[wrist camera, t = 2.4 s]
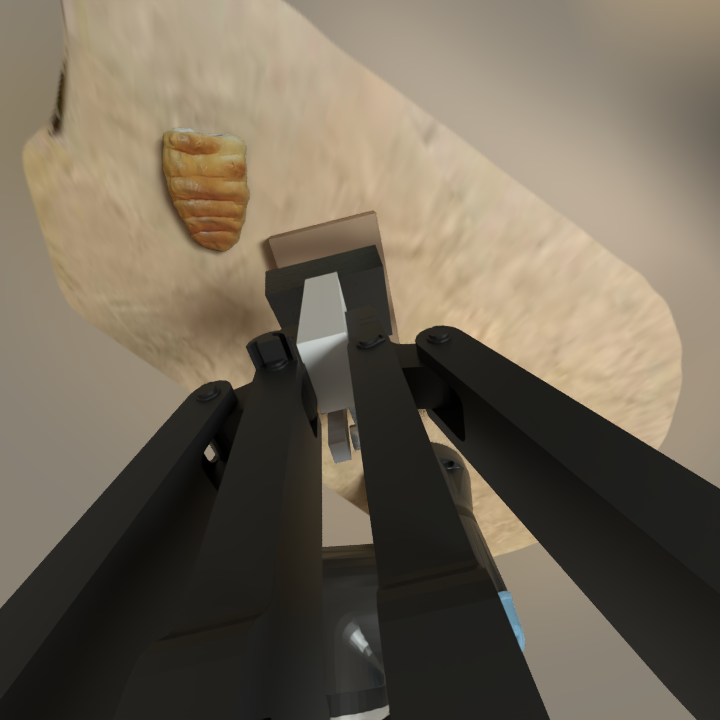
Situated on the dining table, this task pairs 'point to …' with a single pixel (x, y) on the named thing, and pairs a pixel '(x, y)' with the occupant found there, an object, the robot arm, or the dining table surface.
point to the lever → (358, 286)
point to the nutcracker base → (323, 244)
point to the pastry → (207, 184)
